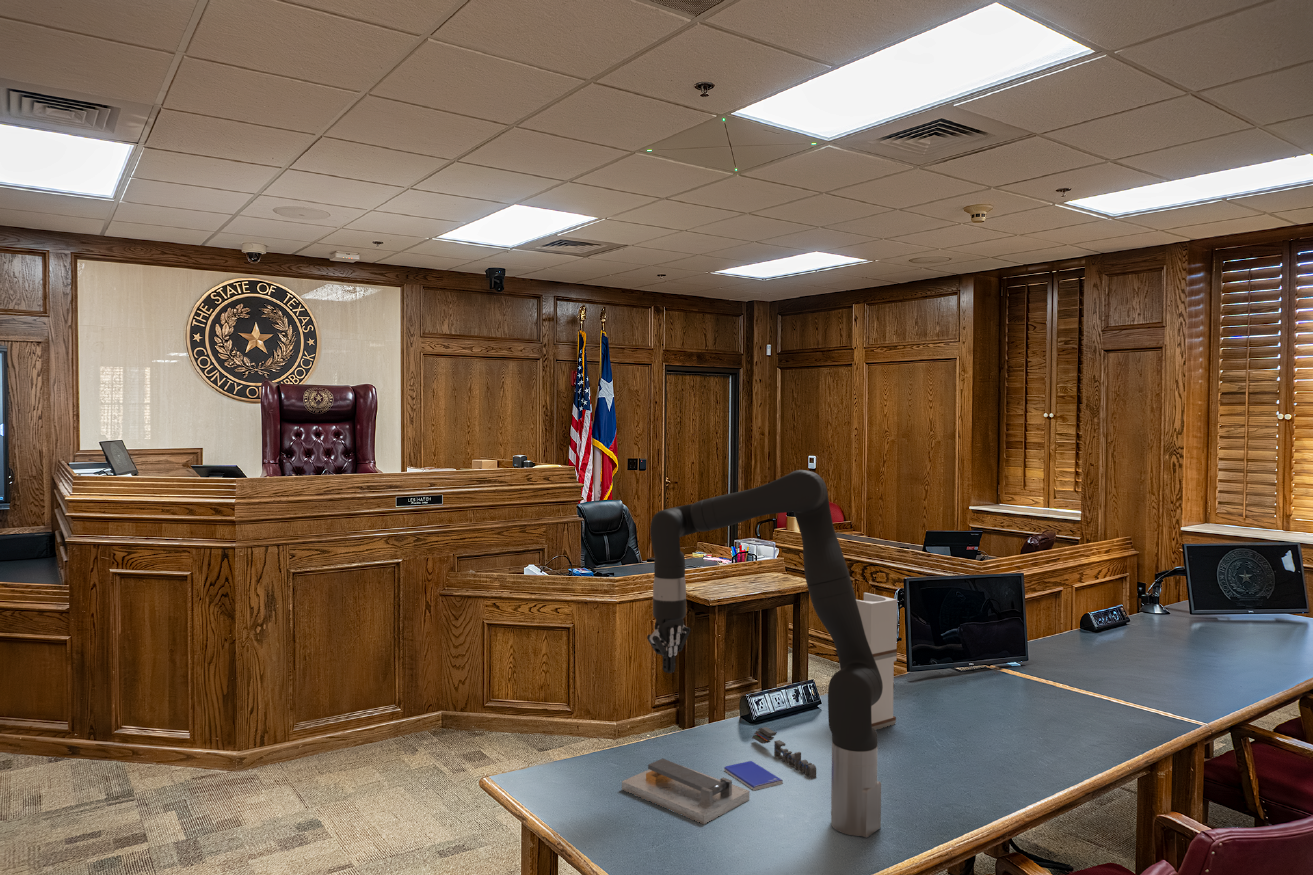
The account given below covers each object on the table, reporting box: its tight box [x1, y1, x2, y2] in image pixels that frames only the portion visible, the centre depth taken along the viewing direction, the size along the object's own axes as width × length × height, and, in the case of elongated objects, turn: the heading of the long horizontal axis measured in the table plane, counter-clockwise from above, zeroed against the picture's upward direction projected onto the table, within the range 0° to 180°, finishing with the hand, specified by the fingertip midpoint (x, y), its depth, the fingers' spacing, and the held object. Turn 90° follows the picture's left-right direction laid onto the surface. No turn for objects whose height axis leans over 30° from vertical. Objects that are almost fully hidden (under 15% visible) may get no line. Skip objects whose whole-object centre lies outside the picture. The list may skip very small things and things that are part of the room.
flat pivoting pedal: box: [647, 758, 727, 796], centre depth 186 cm, size 19×5×2 cm, turn 48°
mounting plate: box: [621, 762, 750, 825], centre depth 186 cm, size 24×16×5 cm, turn 48°
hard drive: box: [723, 760, 784, 791], centre depth 196 cm, size 2×8×12 cm
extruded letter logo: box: [751, 726, 817, 779], centre depth 207 cm, size 25×2×6 cm, turn 27°
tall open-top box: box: [838, 592, 898, 731], centre depth 234 cm, size 11×11×35 cm
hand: (669, 671), depth 190 cm, fingers closed
